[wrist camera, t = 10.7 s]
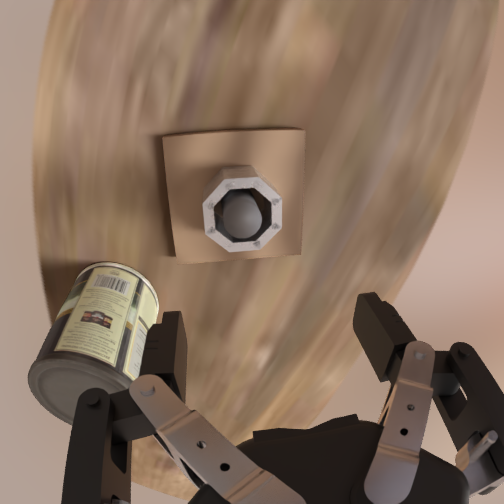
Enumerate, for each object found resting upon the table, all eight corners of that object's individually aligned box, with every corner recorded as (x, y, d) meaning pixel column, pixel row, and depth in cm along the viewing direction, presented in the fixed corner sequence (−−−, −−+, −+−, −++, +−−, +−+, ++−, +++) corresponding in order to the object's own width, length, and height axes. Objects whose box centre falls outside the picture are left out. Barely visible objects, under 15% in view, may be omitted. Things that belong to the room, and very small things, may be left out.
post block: (300, 128, 27) (325, 138, 21) (297, 247, 33) (315, 282, 27) (164, 135, 26) (151, 146, 20) (178, 256, 31) (173, 294, 26)
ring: (272, 164, 27) (282, 175, 23) (272, 228, 30) (281, 247, 26) (201, 168, 26) (200, 181, 23) (207, 233, 29) (207, 254, 25)
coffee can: (94, 339, 35) (66, 433, 23) (60, 269, 30) (5, 360, 18) (170, 330, 36) (162, 434, 23) (144, 253, 31) (113, 356, 18)
